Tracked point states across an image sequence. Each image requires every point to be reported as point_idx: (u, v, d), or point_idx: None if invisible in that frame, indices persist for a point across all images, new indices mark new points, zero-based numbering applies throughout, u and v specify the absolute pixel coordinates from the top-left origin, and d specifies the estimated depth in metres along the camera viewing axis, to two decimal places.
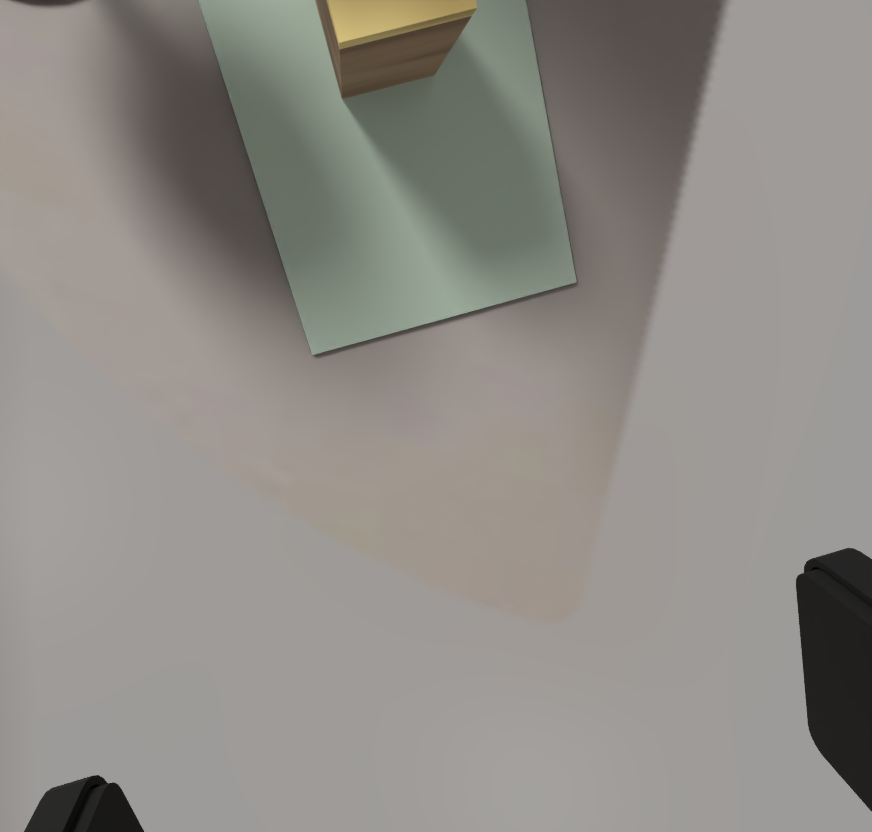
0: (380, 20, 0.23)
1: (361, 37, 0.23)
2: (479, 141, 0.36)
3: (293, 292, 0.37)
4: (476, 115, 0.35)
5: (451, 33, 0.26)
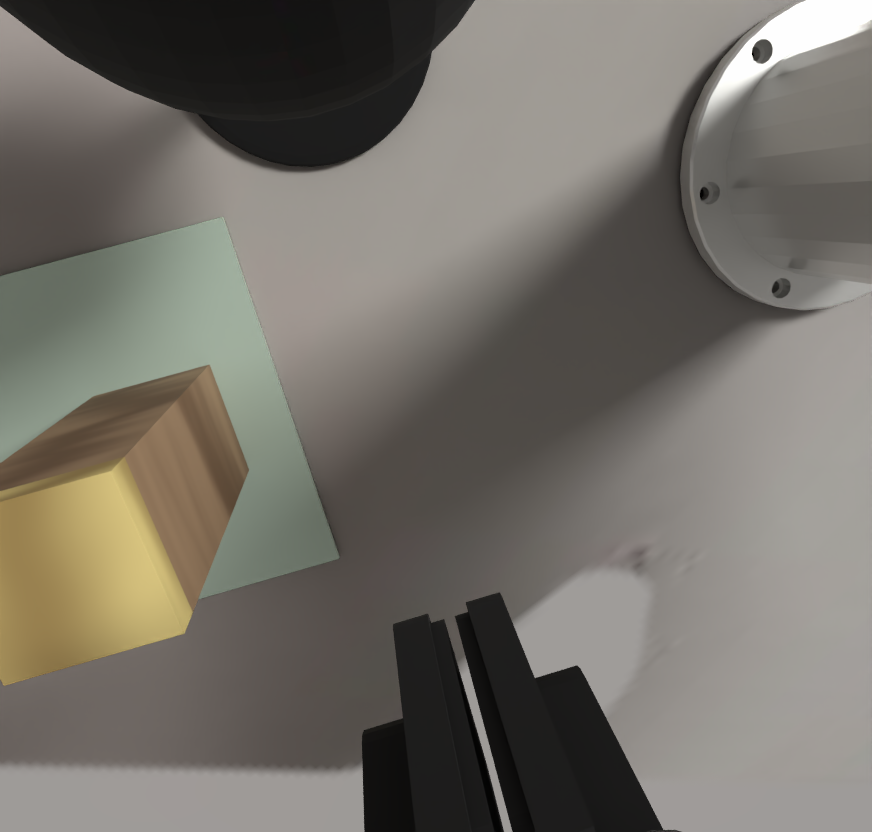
0: None
1: None
2: None
3: None
4: None
5: None
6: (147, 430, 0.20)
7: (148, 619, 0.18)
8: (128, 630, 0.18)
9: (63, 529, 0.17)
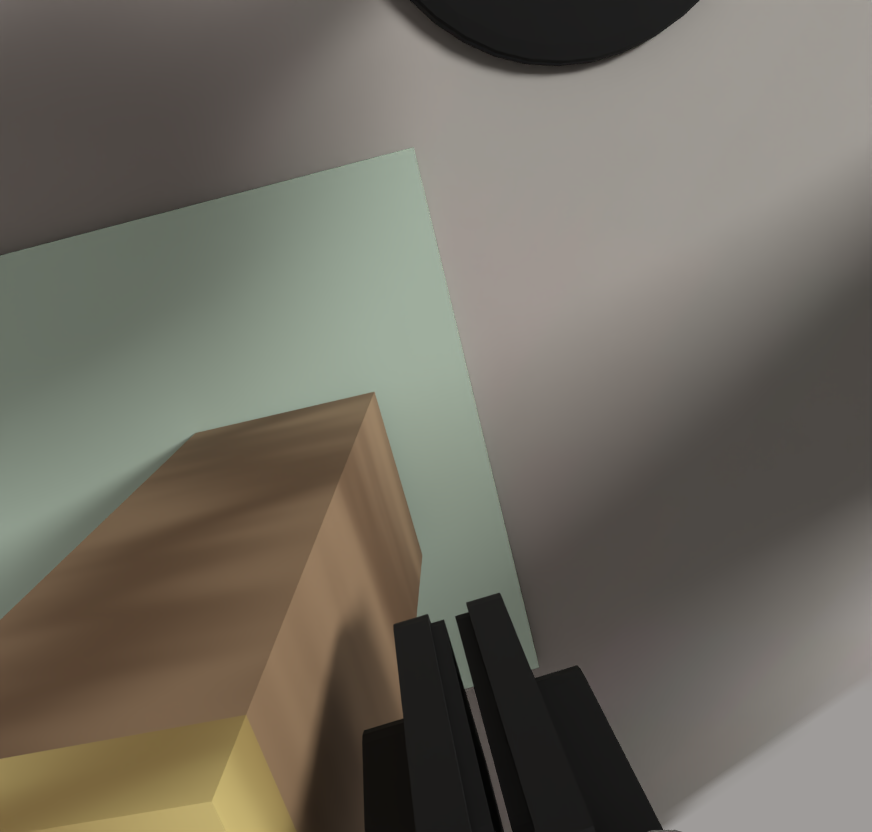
0: None
1: None
2: None
3: None
4: None
5: None
6: (293, 588, 0.09)
7: None
8: None
9: None
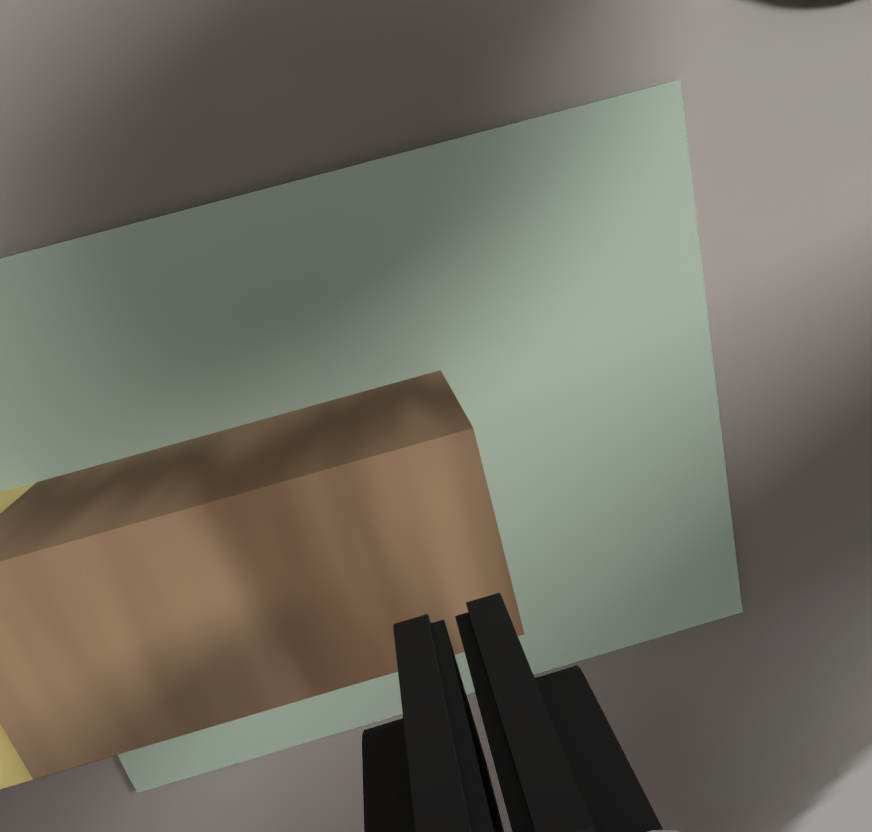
0: None
1: None
2: None
3: (29, 254, 0.16)
4: None
5: None
6: (34, 550, 0.13)
7: None
8: None
9: None
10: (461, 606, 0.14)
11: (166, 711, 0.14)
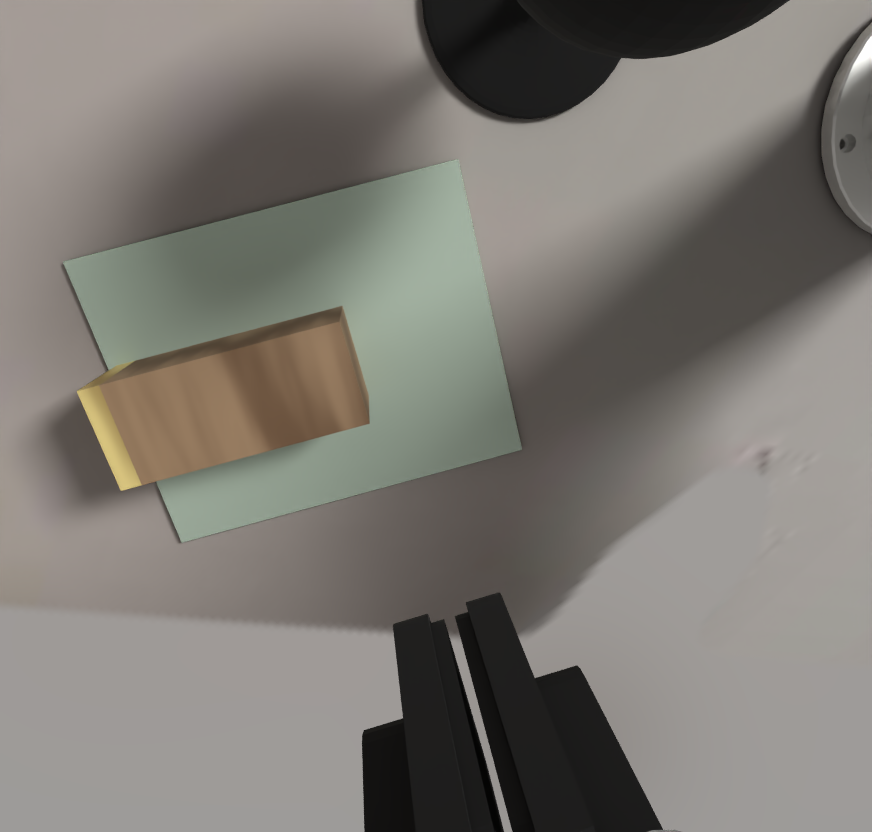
0: None
1: None
2: (312, 439, 0.36)
3: (137, 244, 0.32)
4: (335, 434, 0.36)
5: None
6: (148, 372, 0.29)
7: None
8: None
9: None
10: (338, 407, 0.31)
11: (203, 453, 0.31)
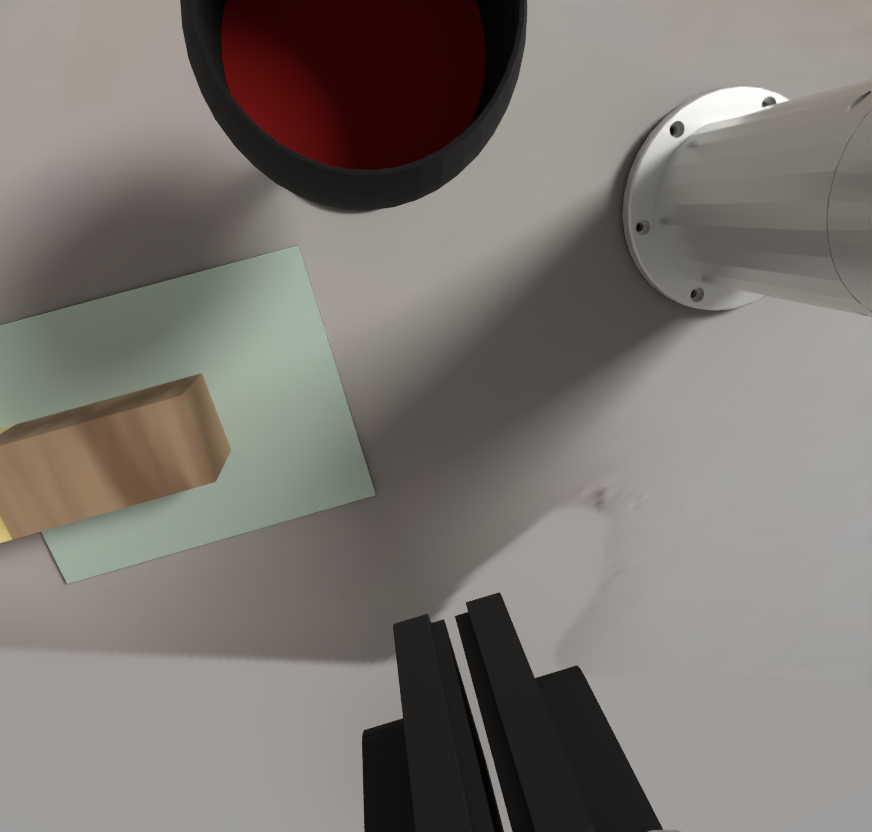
0: None
1: None
2: None
3: (11, 323, 0.36)
4: (203, 485, 0.41)
5: None
6: (12, 442, 0.33)
7: None
8: None
9: None
10: (186, 469, 0.35)
11: (66, 511, 0.35)
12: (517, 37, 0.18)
